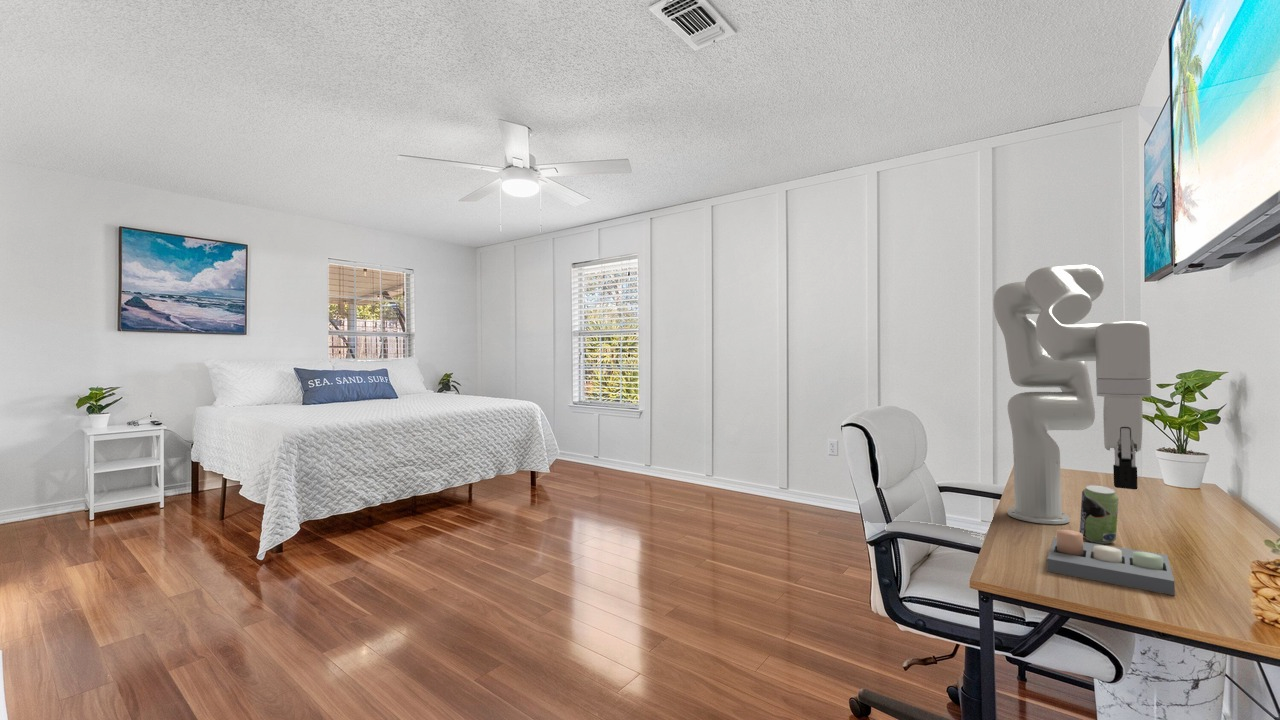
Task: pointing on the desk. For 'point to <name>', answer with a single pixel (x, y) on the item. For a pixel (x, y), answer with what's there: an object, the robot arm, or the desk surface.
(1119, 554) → the cream button
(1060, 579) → the desk surface
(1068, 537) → the terracotta button
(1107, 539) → the beverage can
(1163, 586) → the panel
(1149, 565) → the sage button
